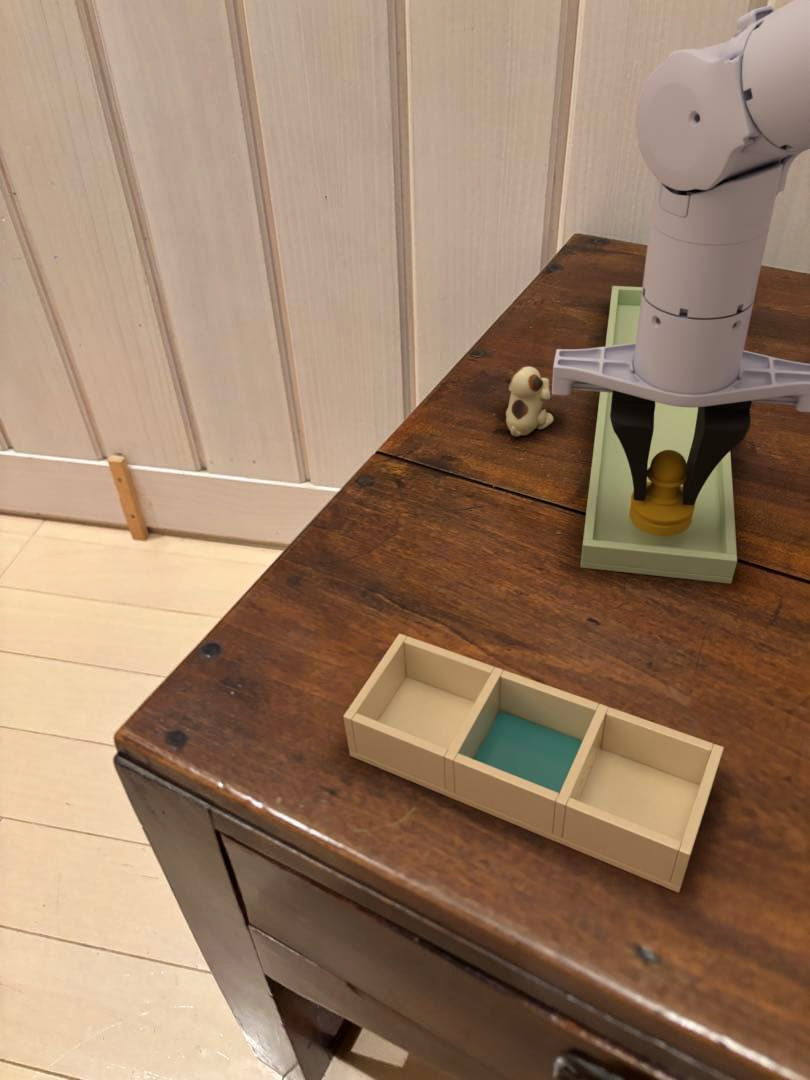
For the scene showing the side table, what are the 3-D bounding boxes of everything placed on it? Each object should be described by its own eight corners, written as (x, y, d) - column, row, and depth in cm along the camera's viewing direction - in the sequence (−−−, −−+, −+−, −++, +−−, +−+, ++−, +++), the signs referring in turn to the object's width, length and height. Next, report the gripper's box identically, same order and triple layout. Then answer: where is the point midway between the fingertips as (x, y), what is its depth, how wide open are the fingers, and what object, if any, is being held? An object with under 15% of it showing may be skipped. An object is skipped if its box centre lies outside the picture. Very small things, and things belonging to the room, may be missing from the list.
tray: (731, 584, 57) (737, 560, 55) (580, 568, 59) (582, 544, 57) (716, 311, 81) (720, 290, 80) (610, 306, 83) (612, 285, 82)
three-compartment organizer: (712, 787, 46) (724, 746, 44) (679, 893, 42) (690, 855, 40) (403, 673, 53) (399, 632, 51) (349, 756, 49) (342, 716, 47)
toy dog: (558, 416, 71) (562, 360, 67) (523, 448, 68) (525, 390, 65) (521, 402, 72) (522, 346, 69) (485, 432, 70) (485, 375, 66)
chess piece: (705, 518, 58) (718, 455, 55) (662, 545, 57) (673, 482, 54) (658, 488, 61) (668, 426, 58) (615, 513, 59) (623, 451, 56)
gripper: (835, 264, 50) (781, 463, 59) (565, 253, 53) (553, 445, 62) (852, 329, 45) (791, 536, 54) (553, 314, 48) (542, 513, 57)
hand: (664, 492), depth 58 cm, fingers closed on chess piece, 2 cm apart
